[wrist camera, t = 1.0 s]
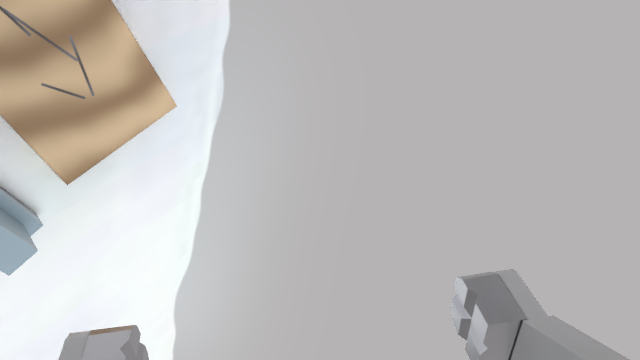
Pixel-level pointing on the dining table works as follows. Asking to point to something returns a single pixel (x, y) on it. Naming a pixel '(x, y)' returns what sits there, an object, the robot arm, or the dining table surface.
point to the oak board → (75, 81)
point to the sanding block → (16, 232)
